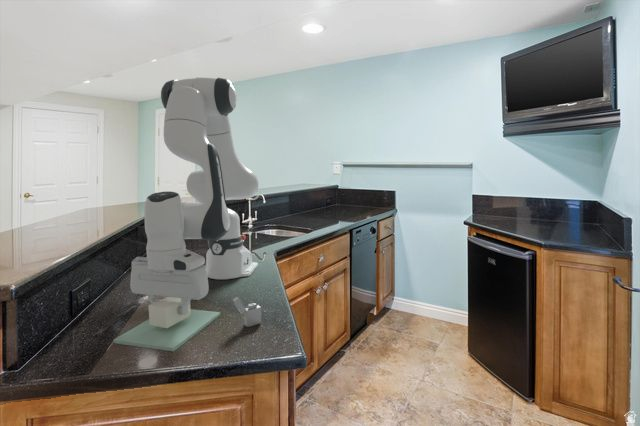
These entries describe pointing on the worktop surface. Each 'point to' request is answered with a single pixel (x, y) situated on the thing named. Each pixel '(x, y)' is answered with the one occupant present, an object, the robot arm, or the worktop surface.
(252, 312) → the lighter
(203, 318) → the mat
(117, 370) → the worktop surface
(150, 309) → the card box
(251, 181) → the robot arm
